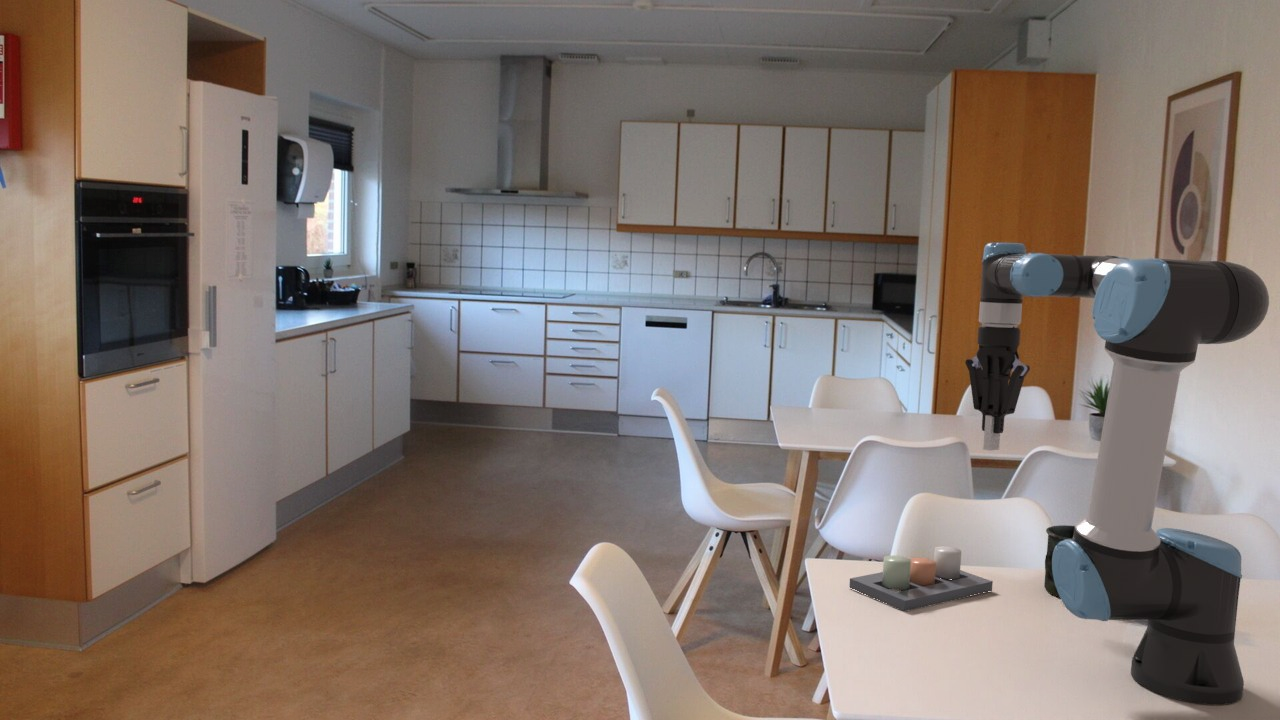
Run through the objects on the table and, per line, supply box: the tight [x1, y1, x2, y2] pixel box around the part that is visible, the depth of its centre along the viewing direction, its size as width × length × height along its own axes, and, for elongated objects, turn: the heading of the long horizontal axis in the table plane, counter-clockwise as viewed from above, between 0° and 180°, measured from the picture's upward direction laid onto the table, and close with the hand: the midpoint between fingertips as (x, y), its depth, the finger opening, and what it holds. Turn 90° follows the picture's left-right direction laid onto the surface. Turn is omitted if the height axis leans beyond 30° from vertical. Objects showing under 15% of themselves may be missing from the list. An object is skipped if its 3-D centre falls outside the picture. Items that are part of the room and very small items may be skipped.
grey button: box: [933, 545, 962, 580], centre depth 199 cm, size 5×5×5 cm
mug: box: [1043, 524, 1075, 598], centre depth 196 cm, size 11×15×12 cm
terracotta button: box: [909, 557, 936, 587], centre depth 196 cm, size 5×5×5 cm
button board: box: [849, 569, 994, 612], centre depth 196 cm, size 14×24×2 cm, turn 122°
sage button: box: [882, 555, 911, 591], centre depth 192 cm, size 5×5×5 cm
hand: (991, 449), depth 194 cm, fingers closed
